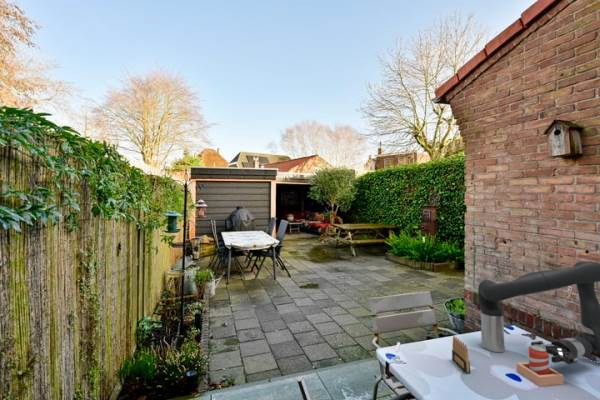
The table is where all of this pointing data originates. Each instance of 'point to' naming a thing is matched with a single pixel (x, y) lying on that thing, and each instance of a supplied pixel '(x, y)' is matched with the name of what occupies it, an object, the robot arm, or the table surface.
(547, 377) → the terracotta collar
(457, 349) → the ammunition clip
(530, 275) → the robot arm
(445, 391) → the table surface
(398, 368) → the table surface
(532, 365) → the beverage can
